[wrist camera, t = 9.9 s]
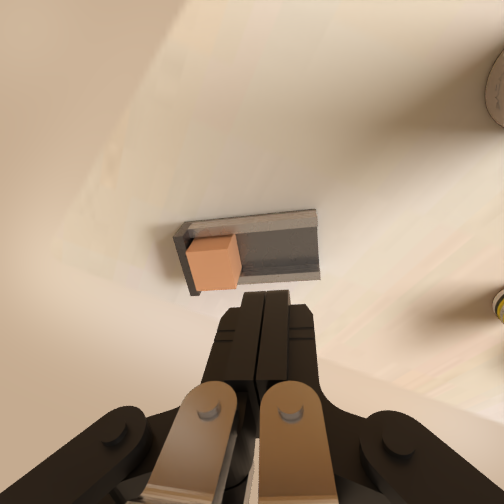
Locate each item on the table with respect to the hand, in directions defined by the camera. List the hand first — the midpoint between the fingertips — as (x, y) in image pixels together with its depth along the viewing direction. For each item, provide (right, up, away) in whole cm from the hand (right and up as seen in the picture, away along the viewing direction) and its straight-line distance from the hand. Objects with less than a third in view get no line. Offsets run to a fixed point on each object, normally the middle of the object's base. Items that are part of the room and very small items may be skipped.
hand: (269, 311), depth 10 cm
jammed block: (-5, +3, +30) cm, 31 cm away
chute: (0, +3, +29) cm, 30 cm away
